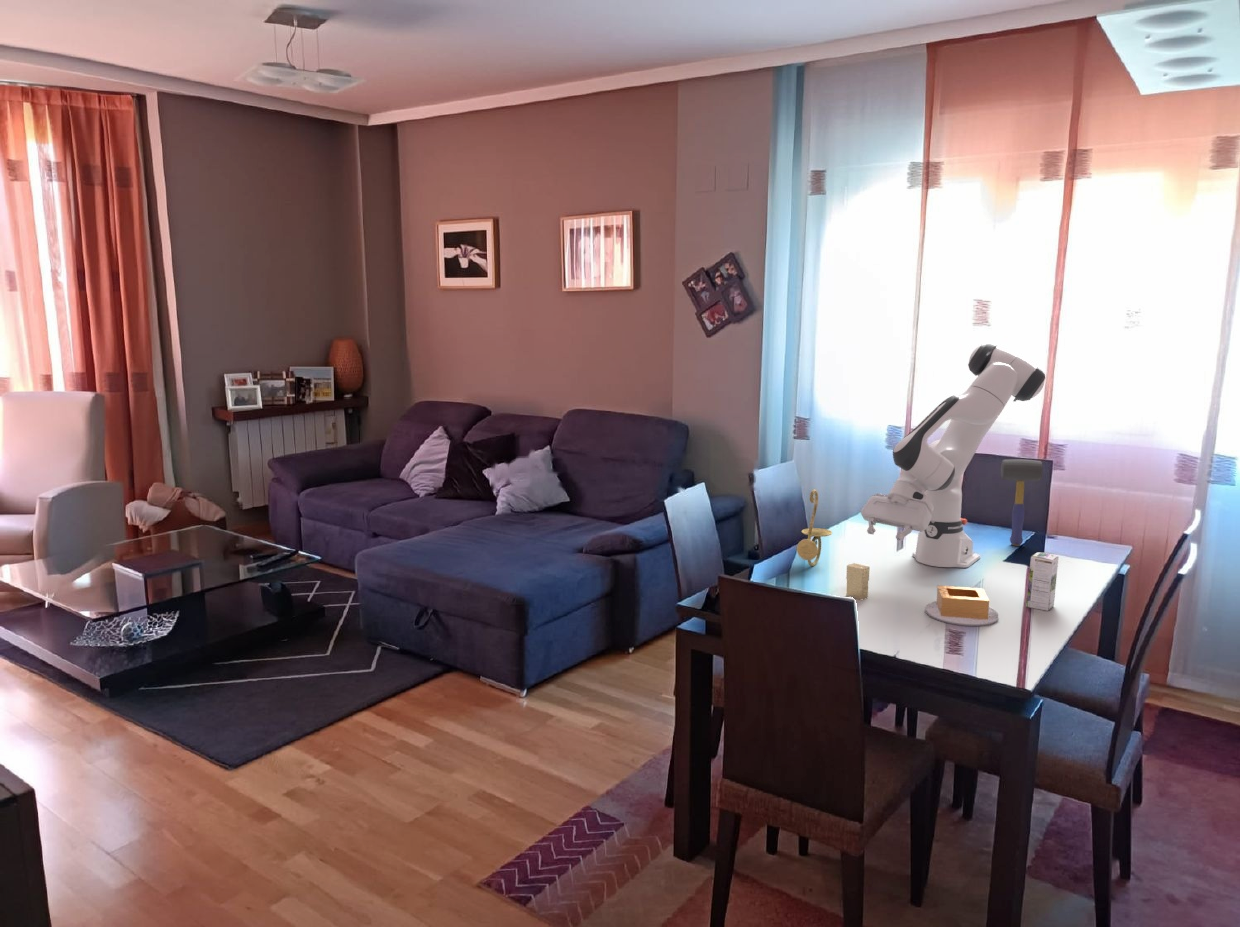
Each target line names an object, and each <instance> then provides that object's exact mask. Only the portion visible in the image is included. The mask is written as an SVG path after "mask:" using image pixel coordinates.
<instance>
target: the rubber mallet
mask: <svg viewBox="0 0 1240 927" xmlns="http://www.w3.org/2000/svg"><path fill="white" fill-rule="evenodd" d="M1043 474H1044V473H1043V462H1042V461H1041V460H1036V459H1034V460H1033V459H1024V458H1023V459H1022V458H1019V459H1015V458H1013V459H1011V458H1010V459H1003V460H1001V466H1000V475H1001V476H1000V477H1001V479H1002V480H1007V481H1016V487H1015V497H1014V498H1015V500H1014V504H1013V508H1012V513H1011V514H1012V515H1011V523H1012V524H1011V534H1010V537H1009V542H1010V544H1011V545H1012V546H1015V547H1018V546H1021V545H1022V543H1023V541H1024V539H1023V527H1024V526H1023V525H1024V520H1025V505H1024V495H1025V493H1024V492H1025V482H1040V481H1041V480H1042V478H1043Z"/></svg>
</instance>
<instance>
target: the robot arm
mask: <svg viewBox="0 0 1240 927" xmlns="http://www.w3.org/2000/svg"><path fill="white" fill-rule="evenodd" d="M967 366H968V369H969V371H970V372H971V373H972V374H973V375H974V376H976V378H975V379H974V380H973V381H972V383H971V384H970V386H969V387H968V388H967V390H965V392H963V393H962V394H959V395H952V396H949V397H947V398H946V399H944V400H943V401H942V402H941V403H939V404H938V405H937V406H936V407H935V408H934V409H933V410H932V411H931V412H930V413H929V414H928V415H927V416H926V417H925V418H924V419H923V420H921V422H920V423H919V424H918V425H917V426H915V428H914V429H913V430H911V431H910V432H909V433H908V434H907V435H905V436H904V437H903V438H901V439H900V440H899V442H897V444H896V445H895V446H894V447H893V450H892V458H893V462H894V465H895V466H897V467H899V468H900V469H901V471H900V473H899V477H898V478H897V479H896V481H894V484H893V486H892V488H891V489H890V491H889V493H888V494H882V493H875V494H873V495H871V496H870V497H869V499H868V501H867V502H866V503H865V504H864V505H863V507H862V509H861V511H860V514H861V516H862V518H863V520H865V521H866V522H868V528H867V530H866V532H867V534H868V535H874V534H875V532H876V531H877V529H876V528H875V527H874V526H876V525H877V524H880V525H886V526H891V527H896V528H901V529H902V530H901V532H900V531H898V532H897V533H896V535H895V539H896V541H901V542H902V541H903V540H904V539H905V537H906V536H908V535H910V534H911V533H912V531H915V532H918V534H917V541H916V548H915V551H914V552H912V554H911V555H912V557H913V558H915V561H917V562H918V563H919V564H923V565H926V566H932V567H939V568H962V569H963V568H964V569H965V568H969V567H970V566H971V565H973V564H974V563H975V562H977V561H978V560H980V559H981V555H980V554H979V553H976V552H973V551H974V550H973V549H974V544H973V543H974V542H973V539H971V538H970V537H969V536H968V535H967V534H966V532H965V531H964V527H963V526H966V525H967V523H968V519H966V518H962V517H961V516H962V515H961V514H962V499H963V492H962V475H963V474H964V472H965V471H966V469H967V467H968V466H969V464H970V463H971V461H972V459H973V457H974V456H975V453H976V452H977V450H978V448H979V446H980V444H981V442H982V441H983V439H984V438H985V436H986V435H987V433H988V432H989V431H990V429H991V427H992V426H993V424H994V423H995V422H996V420H997V419H998V417H999V416H1000V415H1001V413H1002V412H1003V410H1004V409H1005V407H1006V405H1007V404H1008V402H1009V400H1010V399H1011V397H1013V398H1014V399H1013V401H1012V402H1017V401H1022V402H1027V401H1030V400H1031V399H1034V398H1035V397H1036V396H1038V395H1039V394H1040V392H1041V391H1042V390H1043V388H1044V386H1045V385H1044V384H1045V380H1046V374H1045V372H1043V370H1042V369H1040V368H1039V367H1036V366H1035V365H1033V364H1032V363H1031V362H1029V361H1027V360H1026V359H1025V358H1023V357H1022V356H1020V355H1016V354H1015V353H1013V352H1012V351H1009V350H1006V349H1004V348H1001V347H1000V346H998V345H997V344H995V343H991V342H983V343H981V344H980V345H979V346H977V347H975V349H974V350H973V351H972V352H971V353H970V356H969V359H968V363H967ZM949 420H950V422H949V424H948V425H947V427H946V429H945V431H944V433H943V434H942V435H941V438H940V439H937V440H936V439H935V440H934V441H931V443H930V444H928V442H927V441H928V439H929V438H930V437H931V436H932V435H933V434H934V433H935V432H936V431H937V430H939V428H940V427H942V425H943V424H944V423H946V422H947V421H949Z"/></svg>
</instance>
